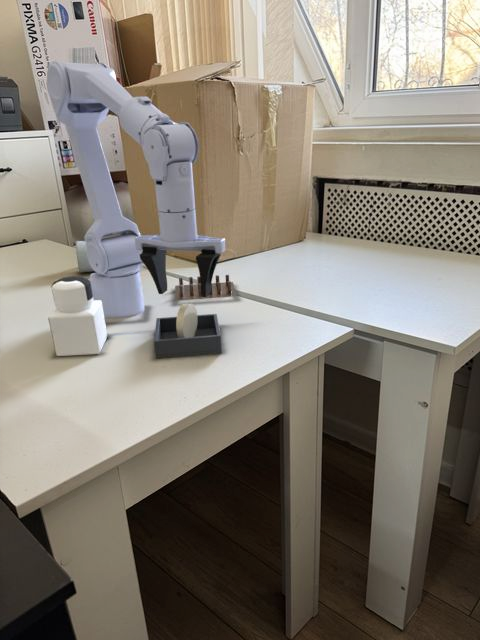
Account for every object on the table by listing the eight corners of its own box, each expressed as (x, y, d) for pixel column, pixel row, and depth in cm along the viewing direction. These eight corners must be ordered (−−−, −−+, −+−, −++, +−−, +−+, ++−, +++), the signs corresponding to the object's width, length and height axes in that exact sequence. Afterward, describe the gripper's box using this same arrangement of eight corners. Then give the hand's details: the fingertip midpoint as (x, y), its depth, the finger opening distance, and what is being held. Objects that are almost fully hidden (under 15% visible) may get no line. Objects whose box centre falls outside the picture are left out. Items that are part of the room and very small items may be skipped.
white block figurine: (67, 339, 90) (53, 274, 85) (108, 337, 90) (97, 272, 85) (55, 357, 84) (40, 287, 78) (99, 354, 84) (87, 285, 79)
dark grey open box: (156, 358, 82) (153, 341, 81) (158, 334, 91) (156, 318, 90) (221, 353, 83) (220, 336, 82) (217, 329, 93) (216, 313, 91)
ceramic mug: (113, 272, 127) (109, 242, 123) (79, 275, 125) (74, 245, 121) (112, 262, 136) (107, 233, 132) (79, 265, 133) (74, 236, 130)
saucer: (177, 346, 84) (174, 309, 82) (192, 333, 90) (189, 298, 88) (184, 347, 84) (181, 310, 82) (198, 333, 90) (196, 299, 87)
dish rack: (175, 304, 105) (173, 289, 104) (175, 289, 114) (174, 275, 113) (237, 300, 107) (236, 285, 105) (233, 286, 116) (232, 271, 114)
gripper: (229, 206, 80) (233, 288, 85) (145, 204, 83) (154, 283, 89) (214, 214, 74) (219, 302, 79) (124, 212, 77) (135, 296, 83)
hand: (184, 293), depth 84 cm, fingers open, 7 cm apart
